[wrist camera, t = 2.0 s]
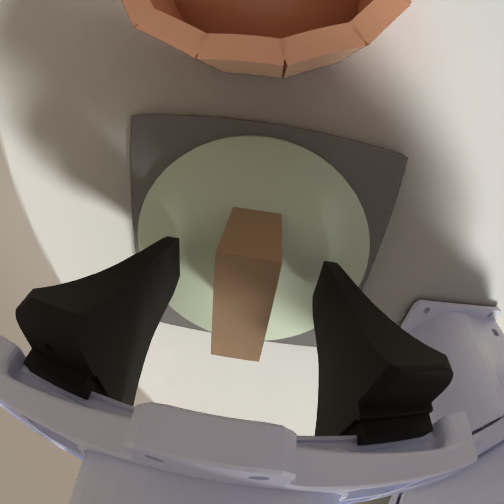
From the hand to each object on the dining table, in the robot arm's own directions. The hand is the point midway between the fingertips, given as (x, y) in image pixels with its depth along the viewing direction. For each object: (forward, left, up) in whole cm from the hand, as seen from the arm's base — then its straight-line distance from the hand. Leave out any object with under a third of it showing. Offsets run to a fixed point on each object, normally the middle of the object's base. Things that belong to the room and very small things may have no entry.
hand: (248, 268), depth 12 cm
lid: (0, 0, -1) cm, 1 cm away
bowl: (+1, -12, -2) cm, 13 cm away
